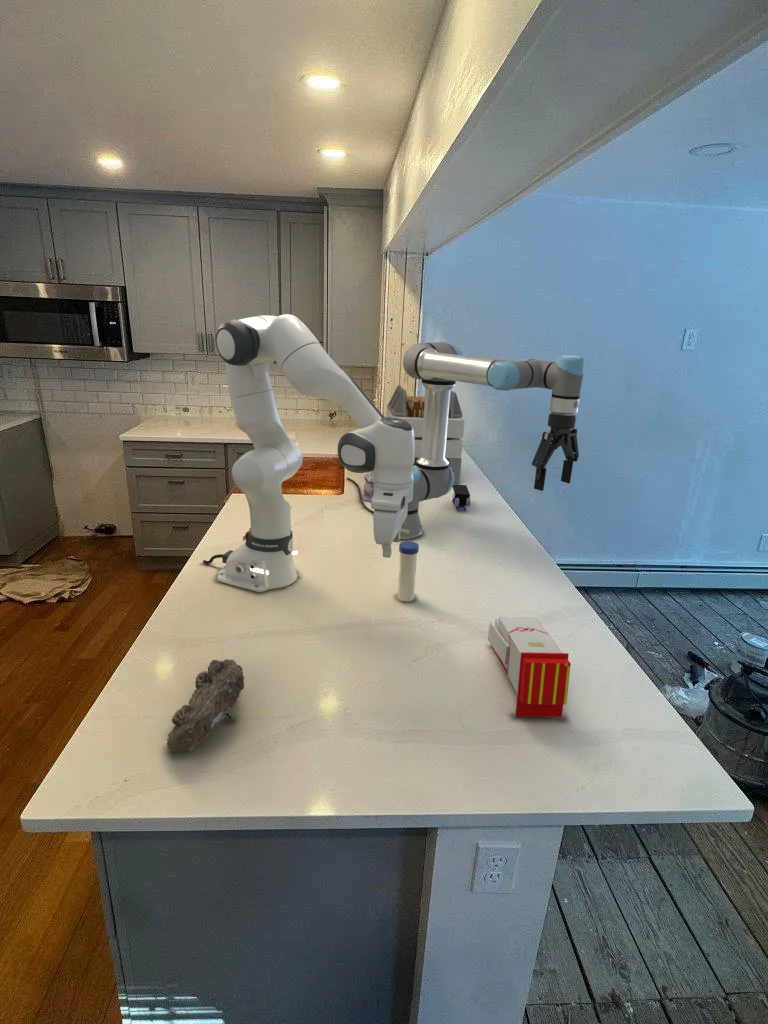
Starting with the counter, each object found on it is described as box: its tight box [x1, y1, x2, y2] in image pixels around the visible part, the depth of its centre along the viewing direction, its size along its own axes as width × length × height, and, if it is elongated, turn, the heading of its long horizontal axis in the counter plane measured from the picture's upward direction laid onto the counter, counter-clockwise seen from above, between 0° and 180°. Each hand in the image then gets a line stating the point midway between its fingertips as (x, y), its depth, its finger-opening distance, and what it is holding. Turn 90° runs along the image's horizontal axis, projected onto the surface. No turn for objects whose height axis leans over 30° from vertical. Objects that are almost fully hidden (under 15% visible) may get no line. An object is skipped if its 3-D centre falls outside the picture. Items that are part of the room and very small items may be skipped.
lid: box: [398, 540, 420, 555], centre depth 151 cm, size 5×5×2 cm
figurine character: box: [451, 483, 471, 512], centre depth 229 cm, size 7×8×15 cm
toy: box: [487, 616, 572, 718], centre depth 123 cm, size 12×13×30 cm
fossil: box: [166, 658, 245, 754], centre depth 106 cm, size 22×10×15 cm
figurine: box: [362, 472, 374, 502], centre depth 233 cm, size 9×10×15 cm
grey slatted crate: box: [385, 384, 465, 484], centre depth 268 cm, size 34×33×41 cm
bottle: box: [397, 551, 418, 602], centre depth 154 cm, size 4×4×15 cm
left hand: (391, 548), depth 132 cm, fingers open, 8 cm apart
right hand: (552, 485), depth 166 cm, fingers open, 13 cm apart
